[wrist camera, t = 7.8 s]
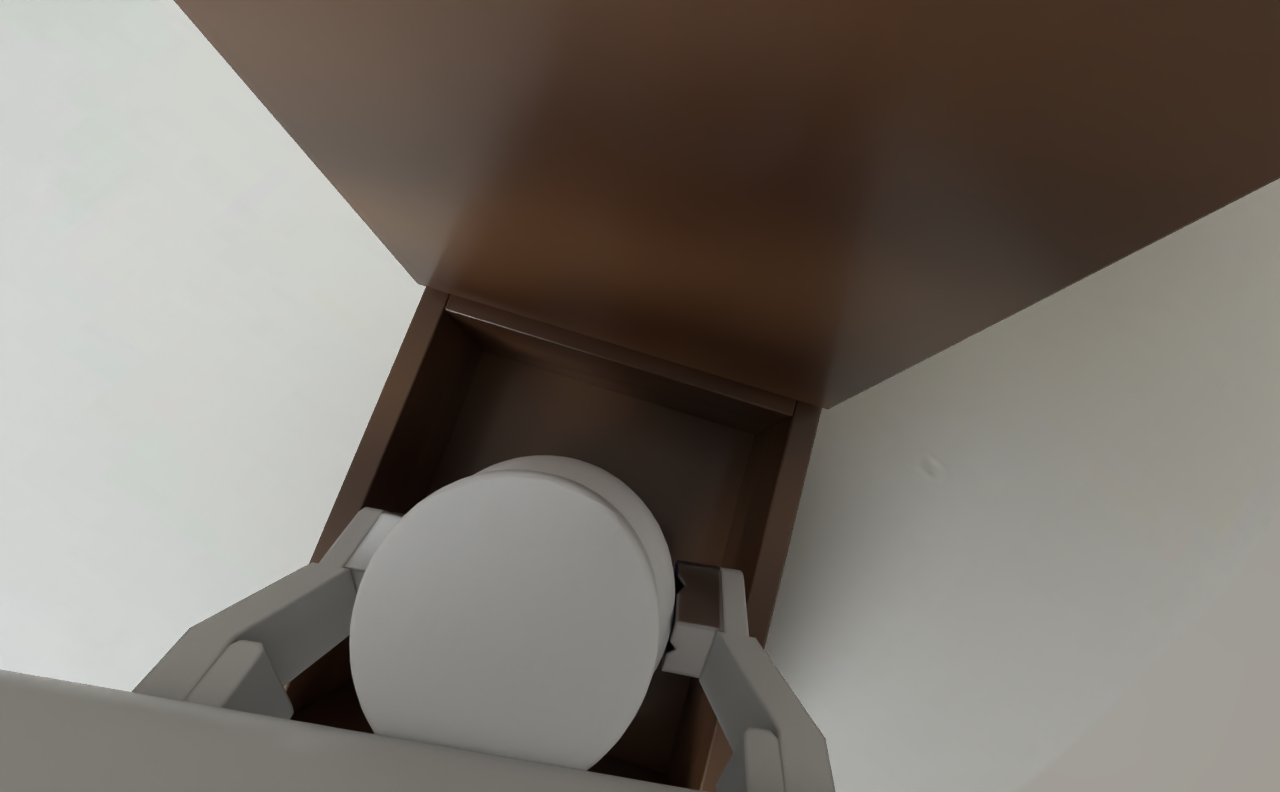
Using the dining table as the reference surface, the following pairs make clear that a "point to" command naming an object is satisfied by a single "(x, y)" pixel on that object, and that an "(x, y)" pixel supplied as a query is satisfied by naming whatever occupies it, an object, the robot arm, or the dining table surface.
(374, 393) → the dining table surface
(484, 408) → the chest
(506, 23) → the chest lid
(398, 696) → the pill bottle
